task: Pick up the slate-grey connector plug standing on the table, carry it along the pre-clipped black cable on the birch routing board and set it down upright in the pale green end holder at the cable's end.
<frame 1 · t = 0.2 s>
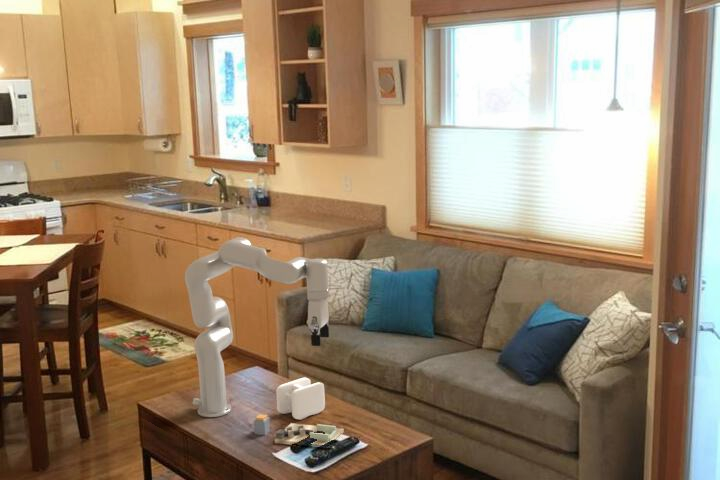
hand: (320, 341, 278), 31 cm above the table, fingers open, 9 cm apart
connector: (262, 432, 277), on the table
cable organizer: (301, 413, 293), on the table
end holder: (323, 438, 270), resting on routing board
routing board: (309, 437, 272), on the table
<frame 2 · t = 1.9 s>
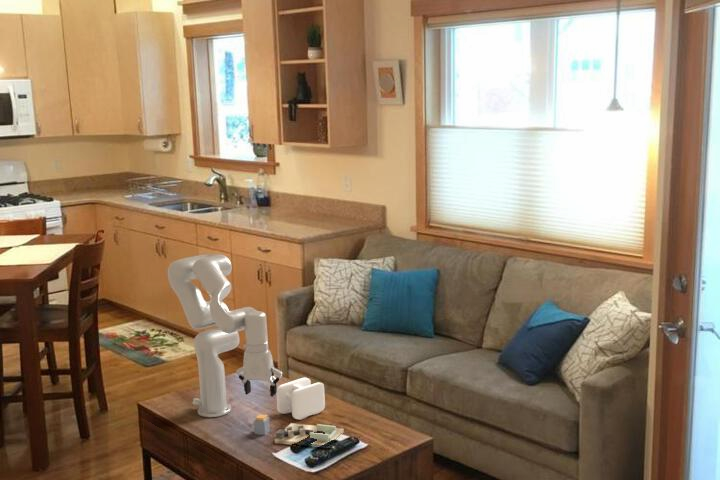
hand: (260, 394, 275), 14 cm above the table, fingers open, 9 cm apart
nothing on the table moved.
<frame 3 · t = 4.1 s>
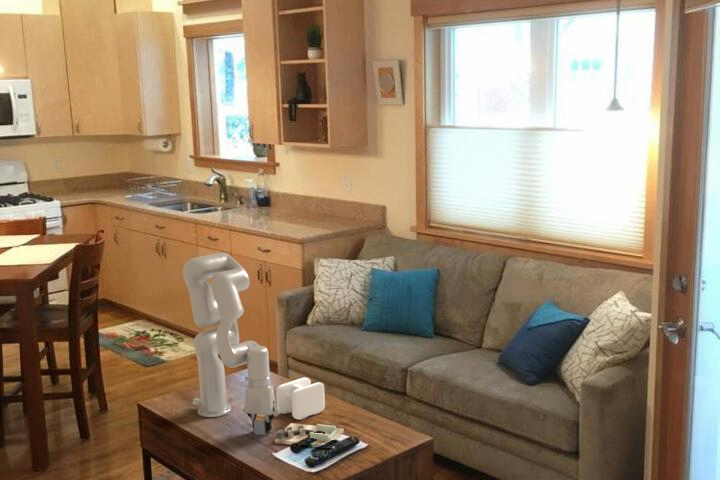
hand: (262, 430, 277), 1 cm above the table, fingers closed on connector, 3 cm apart
connector: (262, 432, 277), on the table, touching gripper
everything else where it was.
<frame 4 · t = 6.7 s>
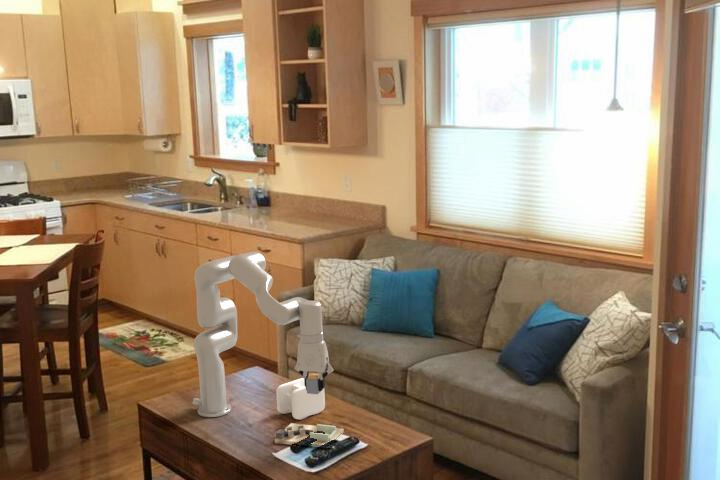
hand: (314, 388, 268), 18 cm above the table, fingers closed on connector, 4 cm apart
connector: (314, 391, 267), point 17 cm above the table, touching gripper
everything else where it was.
when the fingers open (3 cm above the table, at t = 9.3 s): connector stays where it is, resting on routing board.
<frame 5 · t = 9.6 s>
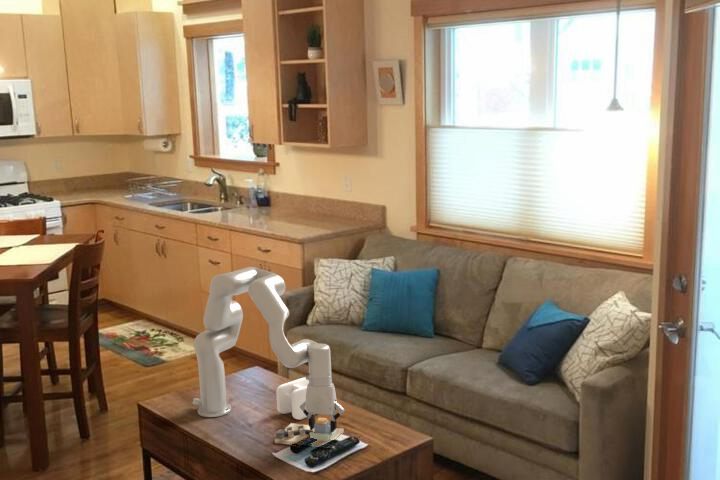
hand: (322, 429, 270), 4 cm above the table, fingers open, 7 cm apart
connector: (322, 435, 270), point 1 cm above the table, touching routing board
everything else where it was.
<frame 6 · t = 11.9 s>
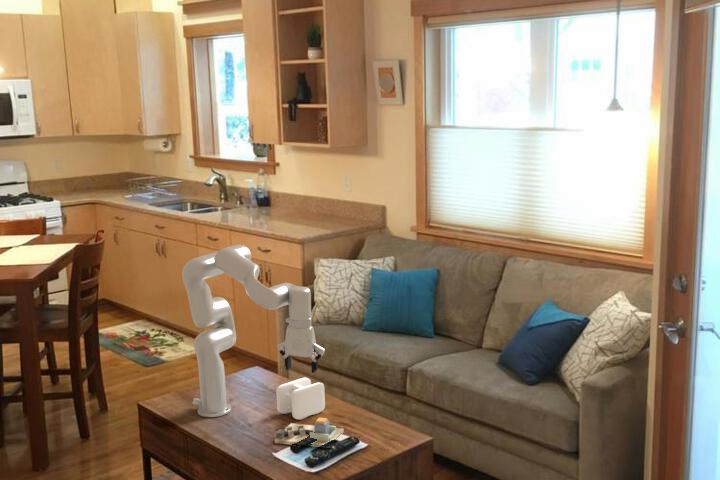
hand: (301, 370, 272), 23 cm above the table, fingers open, 9 cm apart
nothing on the table moved.
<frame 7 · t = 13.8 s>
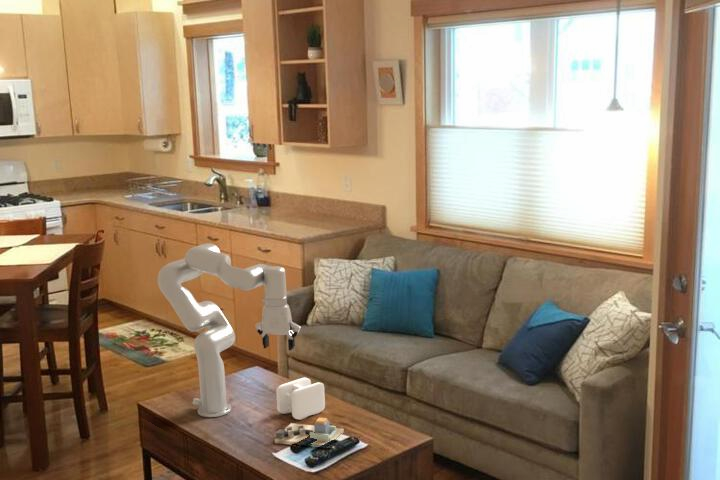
hand: (278, 348, 279), 28 cm above the table, fingers open, 9 cm apart
nothing on the table moved.
at the end: connector 0.3 cm off-centre on the end holder, point 1.2 cm above the end holder's base; connector tilted 0°; the gripper is holding nothing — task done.
